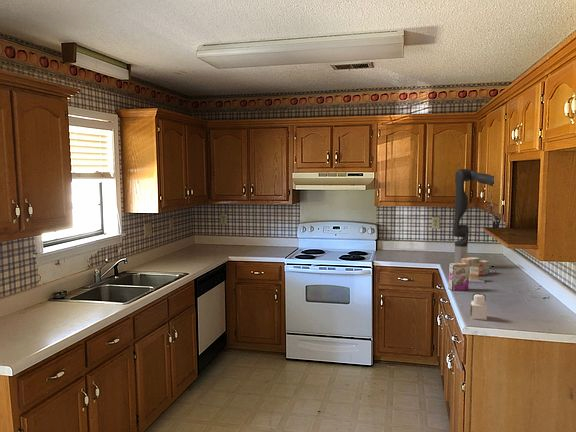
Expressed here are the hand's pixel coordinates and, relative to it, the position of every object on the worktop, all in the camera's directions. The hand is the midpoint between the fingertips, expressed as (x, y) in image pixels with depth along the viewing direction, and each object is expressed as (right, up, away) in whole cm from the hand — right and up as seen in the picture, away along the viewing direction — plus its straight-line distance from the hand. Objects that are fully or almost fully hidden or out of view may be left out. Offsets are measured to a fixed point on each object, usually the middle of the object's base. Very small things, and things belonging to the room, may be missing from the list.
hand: (495, 228), depth 326 cm
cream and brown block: (-17, -34, -5) cm, 38 cm away
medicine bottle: (-46, -43, -86) cm, 106 cm away
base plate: (-17, -35, -5) cm, 39 cm away
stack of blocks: (-9, -33, +15) cm, 37 cm away
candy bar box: (-36, -37, -29) cm, 59 cm away
